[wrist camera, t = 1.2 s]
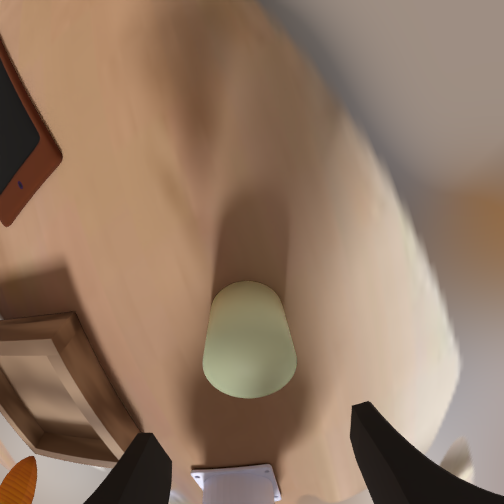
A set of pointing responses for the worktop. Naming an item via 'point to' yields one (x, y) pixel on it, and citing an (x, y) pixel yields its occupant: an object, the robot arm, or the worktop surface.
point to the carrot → (20, 483)
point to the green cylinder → (248, 342)
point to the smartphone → (21, 145)
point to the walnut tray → (60, 392)
